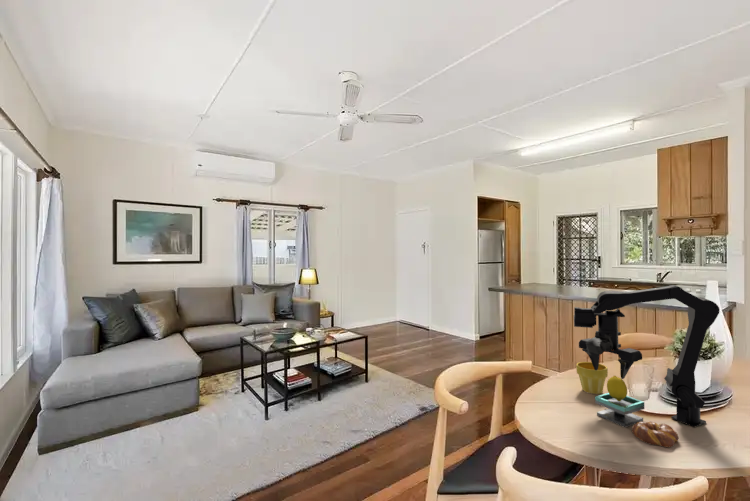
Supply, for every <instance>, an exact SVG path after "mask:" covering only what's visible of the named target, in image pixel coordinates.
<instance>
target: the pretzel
mask: <svg viewBox="0 0 750 501" xmlns="http://www.w3.org/2000/svg"><path fill="white" fill-rule="evenodd" d="M631 432H632V434H633V435H634V436H635V437H636V438H638V439H639V440H640V441H642V442H644V443H645V444H648V445H653V446H660V447H663V448H672V447H673V446H675V443H676V442H678V441H679V439H680V437H679V435H678V433H677V431H675V430H674V428H673V427H672V426H670V425H668V424H666V423H659V424H658V423H657V422H653V421H644V420H643V421H640V422H637V423H635V424H633V425H632V427H631Z"/></svg>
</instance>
